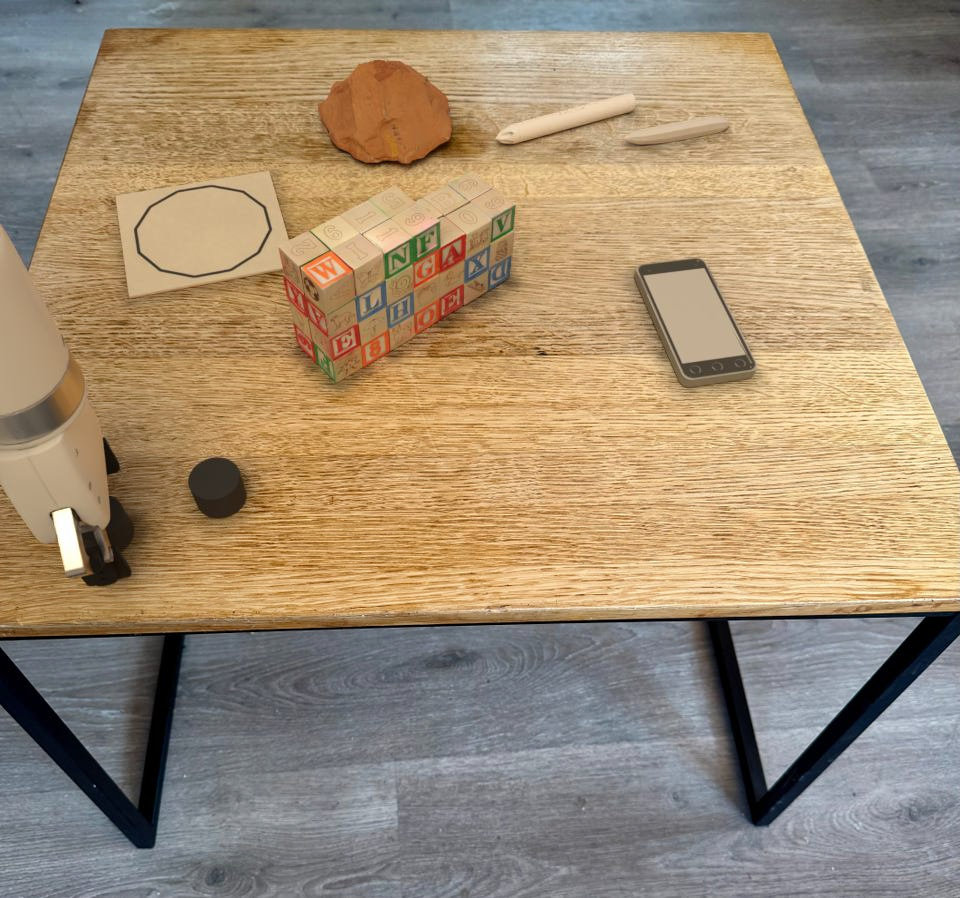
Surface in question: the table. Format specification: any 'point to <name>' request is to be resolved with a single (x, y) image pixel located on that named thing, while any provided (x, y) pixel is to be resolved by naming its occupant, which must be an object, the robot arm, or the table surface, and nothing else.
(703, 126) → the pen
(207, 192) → the face card
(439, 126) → the stone
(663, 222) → the table surface
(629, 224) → the table surface
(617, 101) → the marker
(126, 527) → the left eye dot
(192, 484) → the right eye dot
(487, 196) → the stack of blocks
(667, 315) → the smartphone
